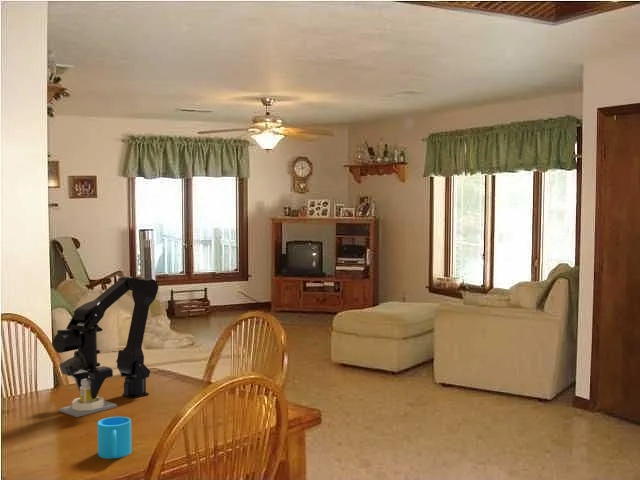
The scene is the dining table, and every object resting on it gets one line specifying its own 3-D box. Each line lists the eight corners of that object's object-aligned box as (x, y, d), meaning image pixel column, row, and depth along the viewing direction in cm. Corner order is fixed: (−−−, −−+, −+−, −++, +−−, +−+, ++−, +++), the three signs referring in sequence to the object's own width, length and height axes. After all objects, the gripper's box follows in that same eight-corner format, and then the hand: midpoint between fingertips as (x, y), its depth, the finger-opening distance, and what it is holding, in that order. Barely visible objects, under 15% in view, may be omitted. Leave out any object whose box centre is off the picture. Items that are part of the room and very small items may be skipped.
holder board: (98, 401, 222) (98, 392, 222) (117, 406, 216) (116, 397, 216) (59, 411, 212) (58, 402, 212) (76, 417, 205) (76, 407, 205)
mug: (98, 449, 177) (98, 418, 177) (131, 446, 180) (131, 415, 179) (96, 465, 166) (95, 432, 166) (131, 462, 168) (130, 429, 168)
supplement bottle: (98, 404, 216) (98, 378, 216) (92, 408, 211) (91, 381, 211) (84, 403, 216) (83, 377, 216) (77, 408, 212) (76, 381, 211)
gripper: (47, 347, 213) (48, 397, 213) (80, 355, 201) (81, 408, 202) (79, 342, 221) (80, 390, 222) (113, 349, 210) (114, 399, 210)
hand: (88, 396), depth 214 cm, fingers open, 6 cm apart
